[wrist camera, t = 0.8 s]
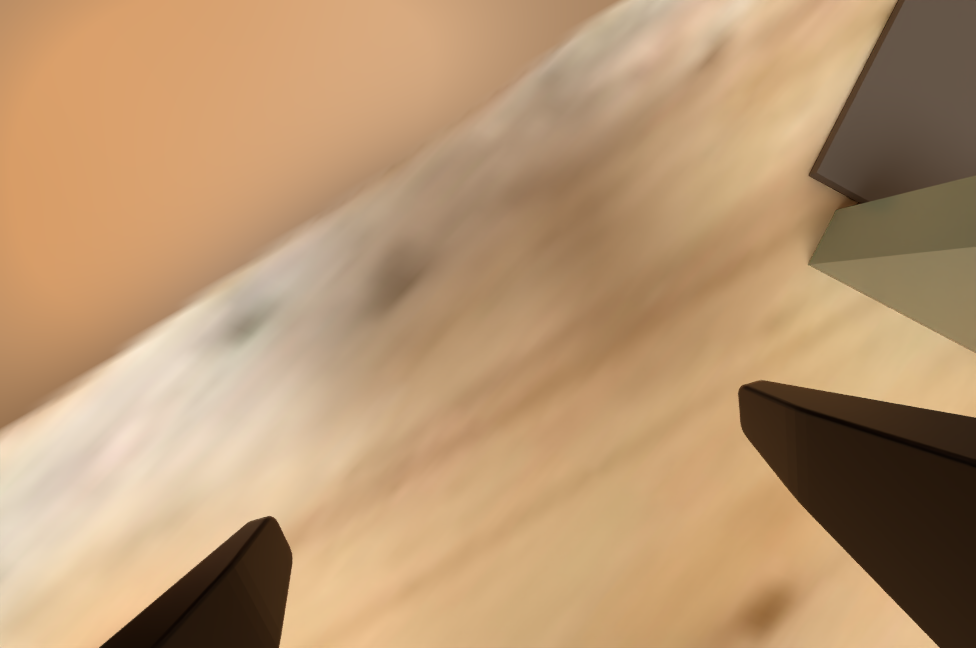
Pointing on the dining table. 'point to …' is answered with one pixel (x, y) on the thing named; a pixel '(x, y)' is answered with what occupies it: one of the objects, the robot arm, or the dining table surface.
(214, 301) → the dining table surface
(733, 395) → the dining table surface
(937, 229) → the glazed tile block
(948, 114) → the mat
